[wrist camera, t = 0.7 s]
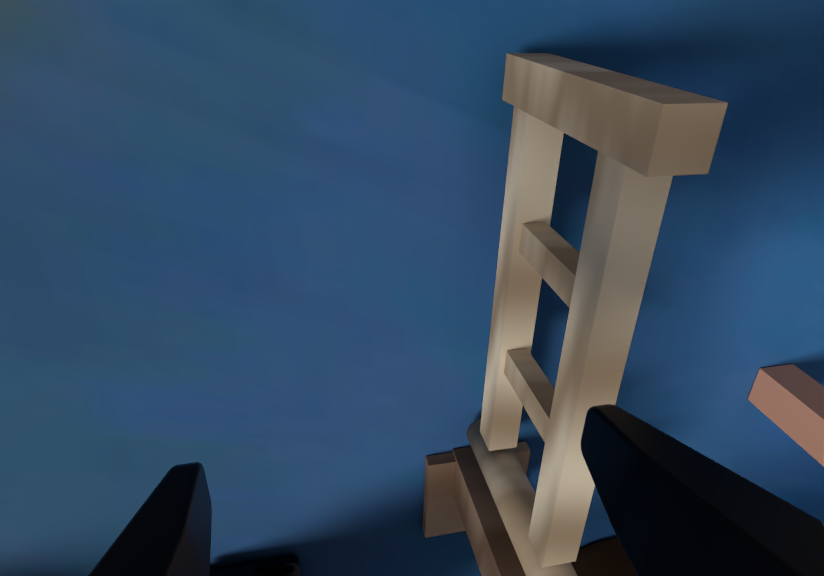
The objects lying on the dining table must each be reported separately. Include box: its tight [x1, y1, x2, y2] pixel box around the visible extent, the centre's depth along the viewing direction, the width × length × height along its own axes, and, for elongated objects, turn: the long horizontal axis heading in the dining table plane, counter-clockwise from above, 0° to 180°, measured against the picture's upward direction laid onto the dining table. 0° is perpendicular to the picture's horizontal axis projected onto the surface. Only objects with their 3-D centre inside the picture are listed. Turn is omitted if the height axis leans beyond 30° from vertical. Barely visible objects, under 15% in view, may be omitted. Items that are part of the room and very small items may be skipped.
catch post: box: [748, 364, 824, 467], centre depth 26 cm, size 2×2×6 cm
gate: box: [467, 53, 728, 576], centre depth 18 cm, size 17×2×8 cm, turn 179°
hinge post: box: [422, 442, 531, 576], centre depth 24 cm, size 5×5×10 cm
